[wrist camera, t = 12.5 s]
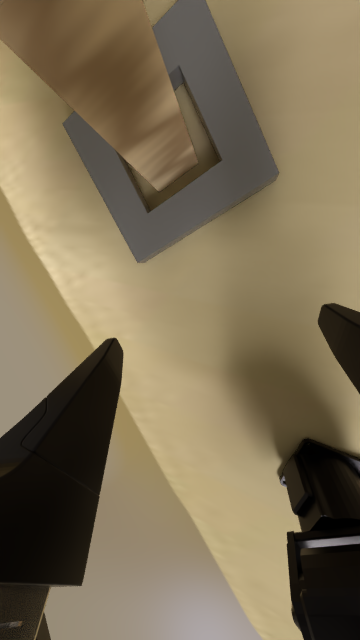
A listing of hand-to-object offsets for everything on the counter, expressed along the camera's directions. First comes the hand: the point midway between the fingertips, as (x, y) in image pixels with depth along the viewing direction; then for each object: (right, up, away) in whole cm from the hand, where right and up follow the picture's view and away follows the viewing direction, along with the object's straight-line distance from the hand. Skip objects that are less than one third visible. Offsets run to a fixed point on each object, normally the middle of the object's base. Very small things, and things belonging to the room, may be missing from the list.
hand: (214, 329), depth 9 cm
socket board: (-3, +14, +9) cm, 17 cm away
